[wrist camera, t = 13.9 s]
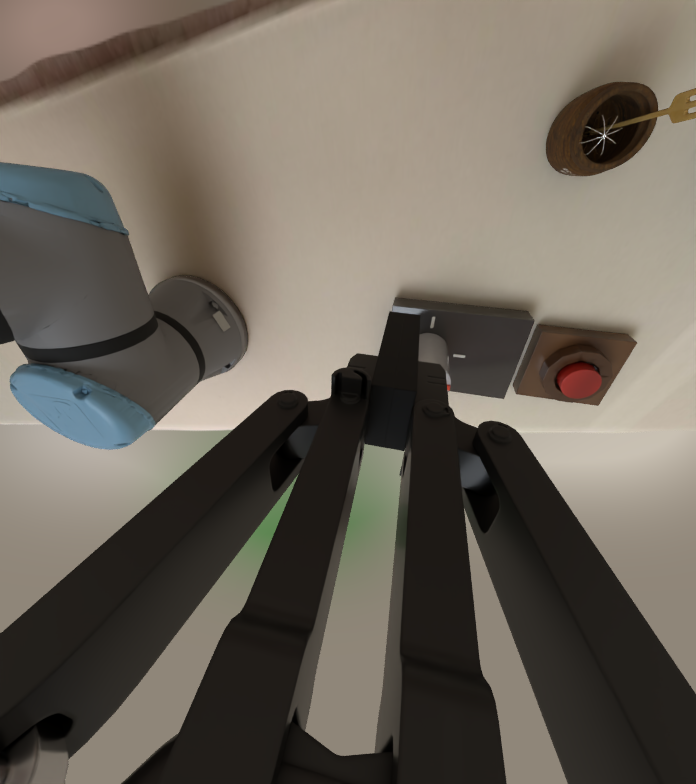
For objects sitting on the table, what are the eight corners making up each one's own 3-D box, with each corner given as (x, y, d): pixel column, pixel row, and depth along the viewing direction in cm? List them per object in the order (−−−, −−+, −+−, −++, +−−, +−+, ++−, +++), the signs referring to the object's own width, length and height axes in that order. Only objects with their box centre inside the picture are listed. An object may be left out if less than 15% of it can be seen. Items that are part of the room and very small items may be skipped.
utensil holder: (541, 111, 29) (595, 85, 19) (628, 74, 27) (738, 24, 17) (544, 185, 32) (592, 194, 22) (622, 157, 29) (714, 155, 20)
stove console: (386, 370, 47) (383, 382, 45) (395, 297, 41) (392, 306, 38) (500, 386, 45) (504, 399, 42) (528, 311, 39) (535, 321, 36)
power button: (550, 388, 40) (555, 396, 38) (564, 359, 37) (569, 367, 36) (586, 392, 39) (591, 401, 38) (602, 364, 37) (609, 372, 35)
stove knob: (403, 366, 43) (398, 400, 37) (409, 330, 40) (405, 361, 34) (443, 371, 42) (445, 407, 36) (452, 335, 39) (456, 368, 33)
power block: (512, 385, 44) (518, 402, 41) (537, 324, 39) (546, 338, 36) (591, 395, 43) (604, 414, 40) (628, 334, 38) (646, 349, 35)
